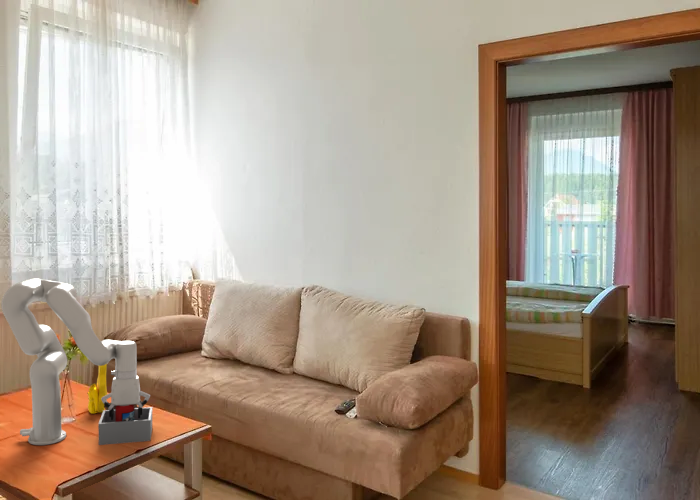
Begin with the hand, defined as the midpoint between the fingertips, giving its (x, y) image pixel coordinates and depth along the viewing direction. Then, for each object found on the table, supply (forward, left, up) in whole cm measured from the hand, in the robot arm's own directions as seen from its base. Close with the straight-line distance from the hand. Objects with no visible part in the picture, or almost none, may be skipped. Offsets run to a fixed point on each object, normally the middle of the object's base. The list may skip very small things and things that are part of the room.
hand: (126, 417), depth 223 cm
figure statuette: (-14, +29, -7) cm, 33 cm away
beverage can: (0, 0, -6) cm, 6 cm away
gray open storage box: (0, 0, -7) cm, 7 cm away
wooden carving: (-3, +19, -7) cm, 21 cm away
